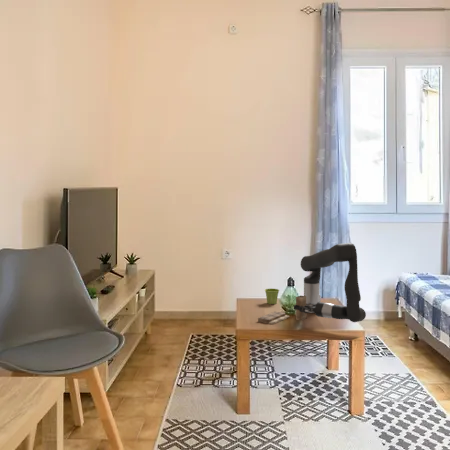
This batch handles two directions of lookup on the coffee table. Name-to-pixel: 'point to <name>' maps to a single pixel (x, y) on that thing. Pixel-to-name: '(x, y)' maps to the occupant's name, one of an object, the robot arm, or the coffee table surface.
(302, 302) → the plank
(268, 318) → the floor board
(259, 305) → the coffee table surface
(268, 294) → the plant pot
